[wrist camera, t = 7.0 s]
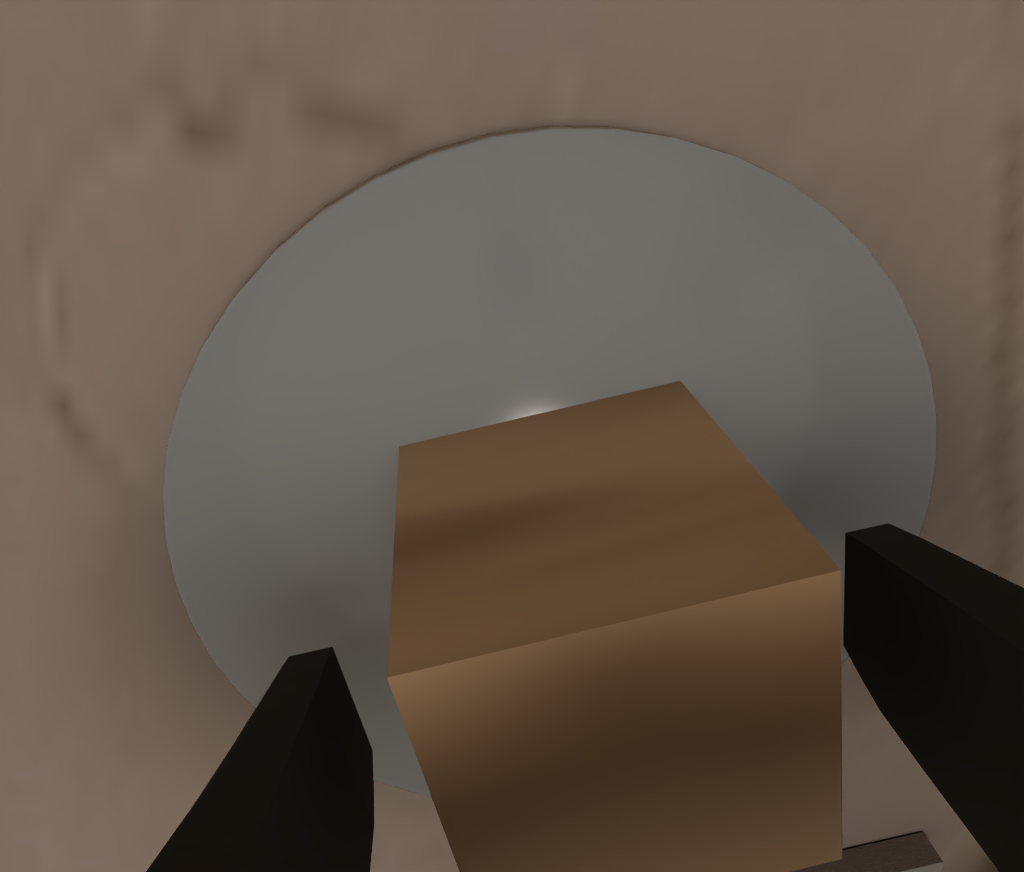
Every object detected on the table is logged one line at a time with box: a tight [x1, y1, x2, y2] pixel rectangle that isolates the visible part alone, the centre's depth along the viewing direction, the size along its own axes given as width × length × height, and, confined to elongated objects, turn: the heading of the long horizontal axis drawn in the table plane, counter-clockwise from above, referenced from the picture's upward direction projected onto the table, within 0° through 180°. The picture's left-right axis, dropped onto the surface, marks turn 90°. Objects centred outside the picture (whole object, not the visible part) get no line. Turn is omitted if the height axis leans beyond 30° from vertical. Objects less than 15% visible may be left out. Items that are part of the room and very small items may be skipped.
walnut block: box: [387, 381, 842, 872], centre depth 10 cm, size 4×4×5 cm
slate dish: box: [163, 126, 936, 796], centre depth 13 cm, size 13×13×1 cm
